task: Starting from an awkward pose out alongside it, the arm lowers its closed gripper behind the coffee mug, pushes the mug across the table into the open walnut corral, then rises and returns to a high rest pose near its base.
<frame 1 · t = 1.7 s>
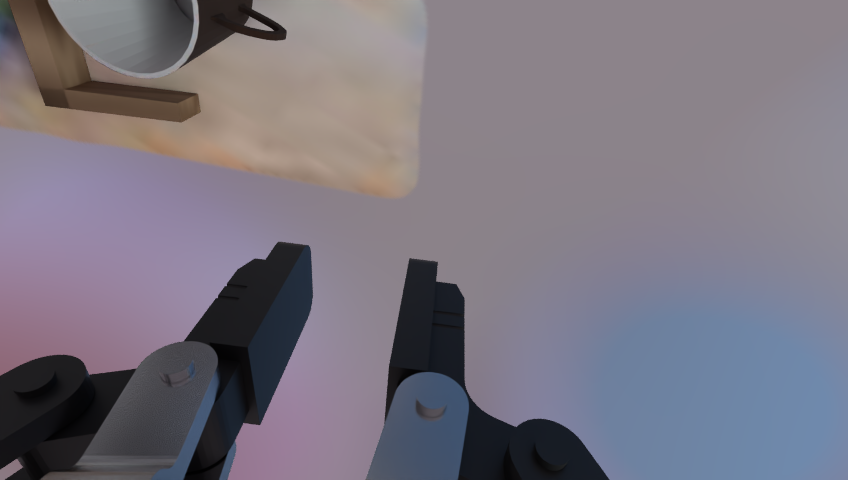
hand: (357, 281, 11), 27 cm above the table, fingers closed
coffee mug: (228, 3, 33), on the table
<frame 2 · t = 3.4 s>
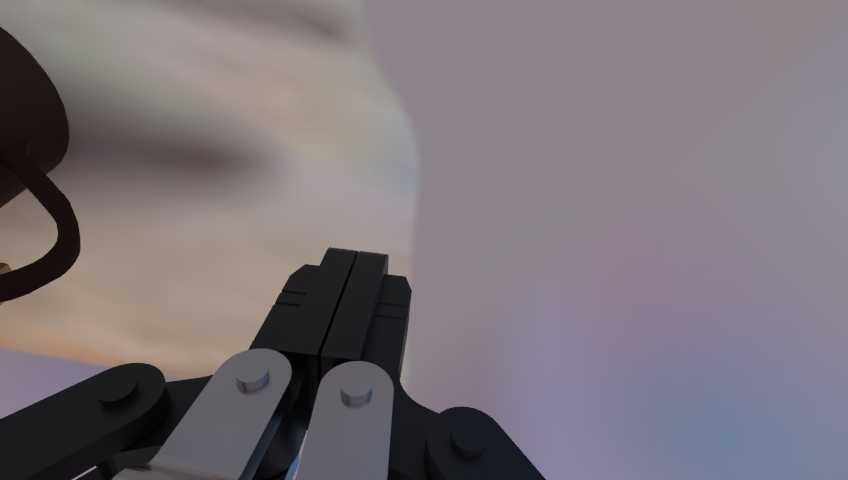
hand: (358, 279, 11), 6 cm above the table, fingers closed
coffee mug: (25, 123, 17), on the table
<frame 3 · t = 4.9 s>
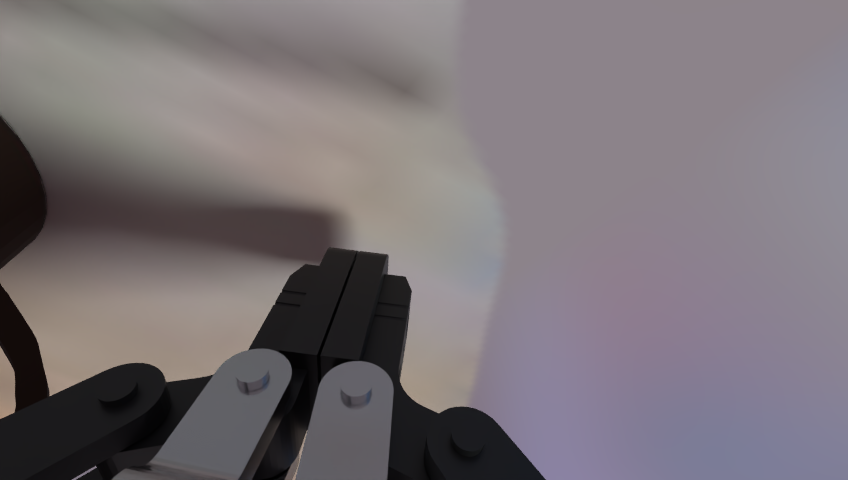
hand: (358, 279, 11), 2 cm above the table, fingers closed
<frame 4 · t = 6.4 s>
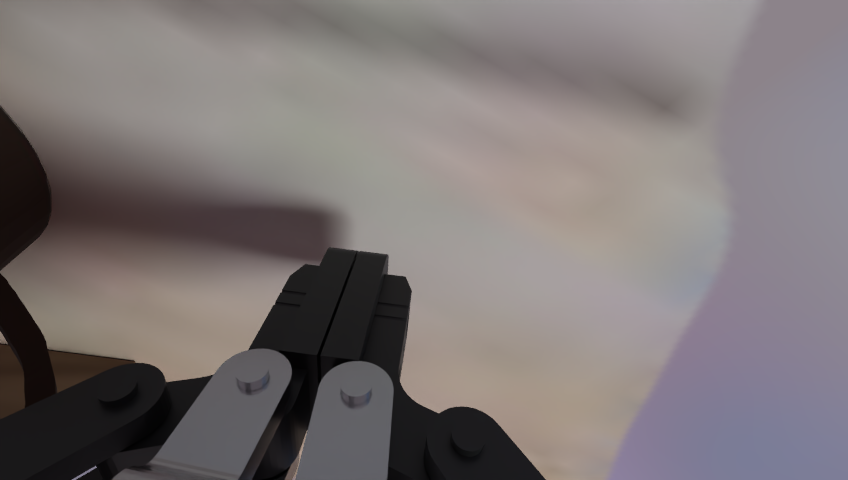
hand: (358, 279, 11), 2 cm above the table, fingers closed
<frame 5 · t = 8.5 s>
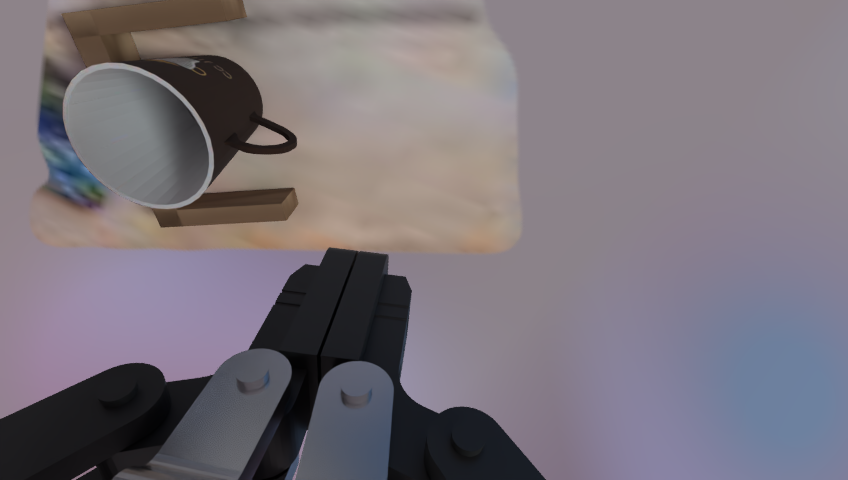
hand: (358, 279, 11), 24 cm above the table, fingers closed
walnut corral: (200, 117, 35), on the table
coffee mug: (241, 110, 34), on the table
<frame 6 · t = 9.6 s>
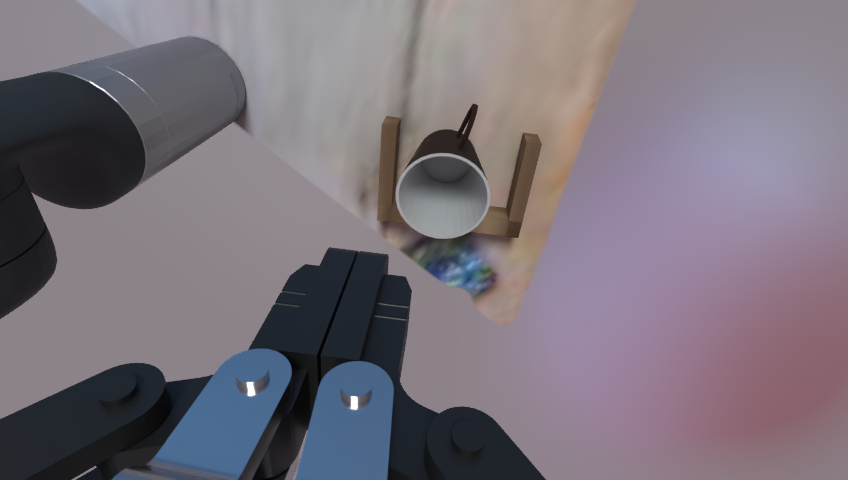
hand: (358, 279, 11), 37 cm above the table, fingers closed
walnut corral: (454, 177, 50), on the table
coffee mug: (456, 148, 48), on the table
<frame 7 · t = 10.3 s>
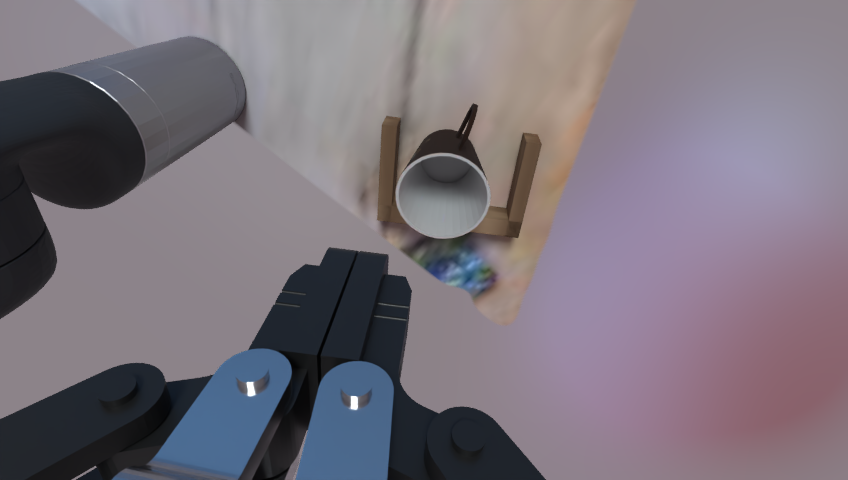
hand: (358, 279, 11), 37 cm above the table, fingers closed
walnut corral: (454, 177, 50), on the table
coffee mug: (456, 148, 48), on the table
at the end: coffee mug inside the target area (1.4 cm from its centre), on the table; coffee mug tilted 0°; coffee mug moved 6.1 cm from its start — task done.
